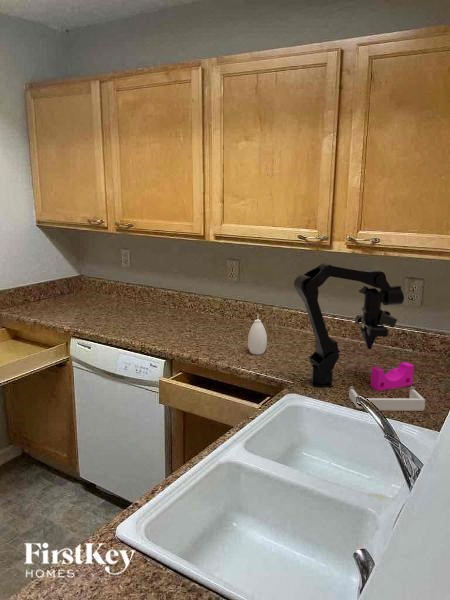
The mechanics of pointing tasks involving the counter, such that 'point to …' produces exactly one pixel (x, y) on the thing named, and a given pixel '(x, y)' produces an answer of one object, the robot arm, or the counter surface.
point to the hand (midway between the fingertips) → (369, 348)
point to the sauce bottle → (257, 338)
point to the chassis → (394, 402)
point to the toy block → (392, 377)
